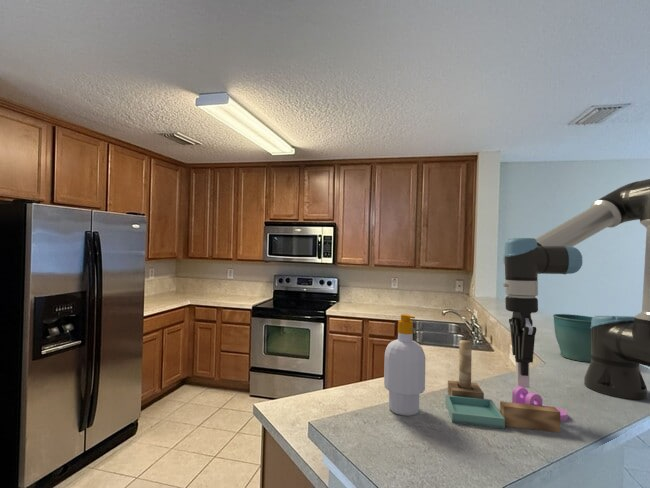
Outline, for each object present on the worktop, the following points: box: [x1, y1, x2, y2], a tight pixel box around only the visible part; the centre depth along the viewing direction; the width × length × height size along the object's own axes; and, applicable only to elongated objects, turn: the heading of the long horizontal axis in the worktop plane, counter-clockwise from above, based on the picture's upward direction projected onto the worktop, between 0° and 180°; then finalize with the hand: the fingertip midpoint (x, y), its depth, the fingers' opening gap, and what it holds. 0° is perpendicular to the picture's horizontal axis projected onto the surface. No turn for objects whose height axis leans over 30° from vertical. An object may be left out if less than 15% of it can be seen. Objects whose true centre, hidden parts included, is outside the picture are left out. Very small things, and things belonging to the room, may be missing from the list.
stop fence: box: [499, 401, 561, 433], centre depth 83 cm, size 12×3×4 cm, turn 79°
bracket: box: [511, 385, 569, 422], centre depth 89 cm, size 13×6×7 cm, turn 103°
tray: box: [444, 394, 506, 429], centre depth 88 cm, size 12×12×2 cm
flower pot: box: [552, 313, 594, 363], centre depth 146 cm, size 18×18×17 cm
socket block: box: [447, 380, 485, 399], centre depth 98 cm, size 8×8×4 cm
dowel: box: [458, 339, 473, 389], centre depth 98 cm, size 3×3×16 cm
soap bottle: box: [383, 313, 426, 417], centre depth 90 cm, size 10×10×24 cm
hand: (522, 386), depth 92 cm, fingers closed
